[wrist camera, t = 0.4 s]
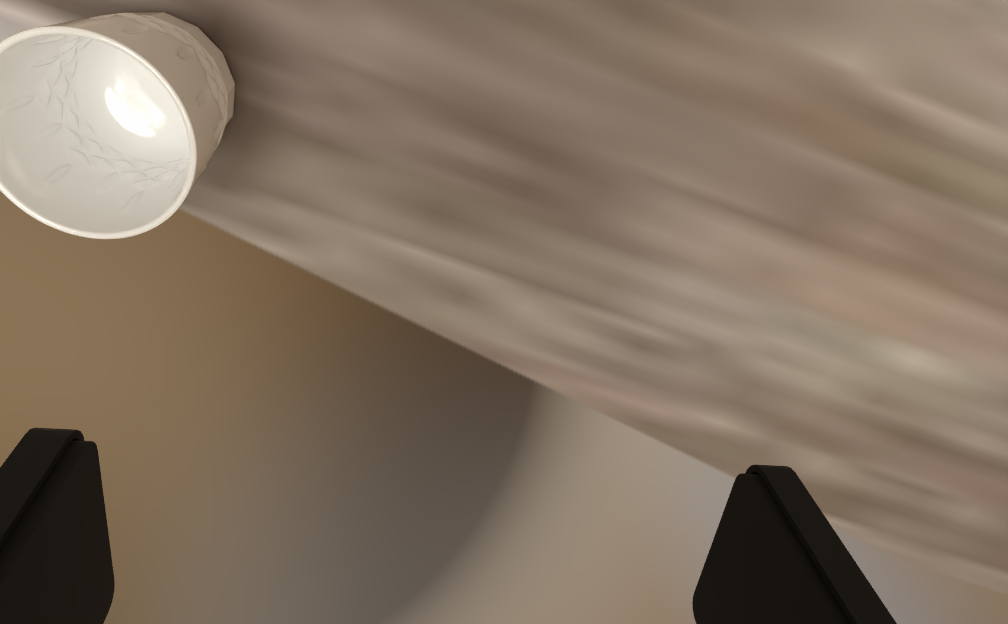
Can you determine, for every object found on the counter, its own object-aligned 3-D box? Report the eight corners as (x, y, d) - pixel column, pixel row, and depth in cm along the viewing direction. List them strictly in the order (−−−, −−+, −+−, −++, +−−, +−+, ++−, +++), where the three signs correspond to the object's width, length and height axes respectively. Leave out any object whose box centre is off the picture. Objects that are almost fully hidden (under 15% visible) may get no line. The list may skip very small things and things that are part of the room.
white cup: (181, -35, 34) (99, -17, 25) (280, 120, 38) (238, 183, 29) (39, 47, 35) (-87, 92, 26) (149, 190, 39) (70, 272, 30)
